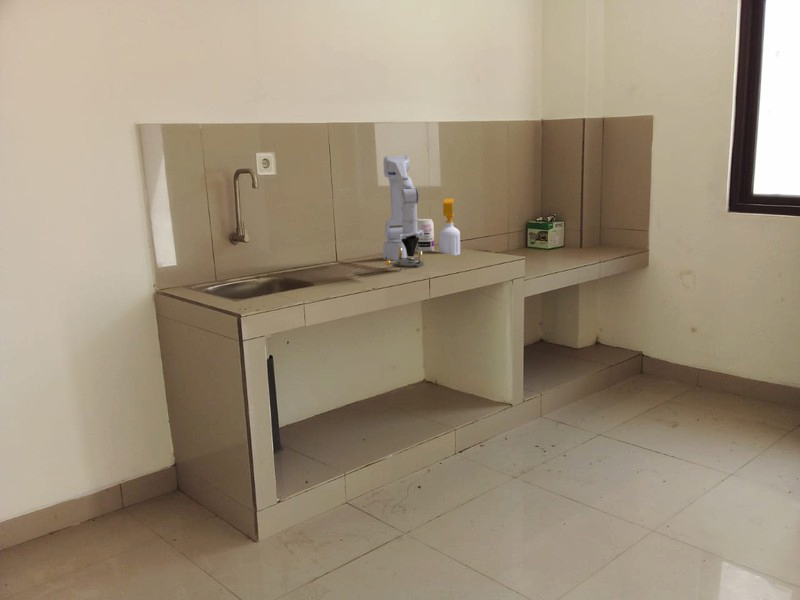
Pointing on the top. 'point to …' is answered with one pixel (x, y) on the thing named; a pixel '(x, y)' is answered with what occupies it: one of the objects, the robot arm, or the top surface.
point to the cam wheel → (407, 260)
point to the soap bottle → (449, 232)
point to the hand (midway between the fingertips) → (410, 256)
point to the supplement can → (425, 235)
